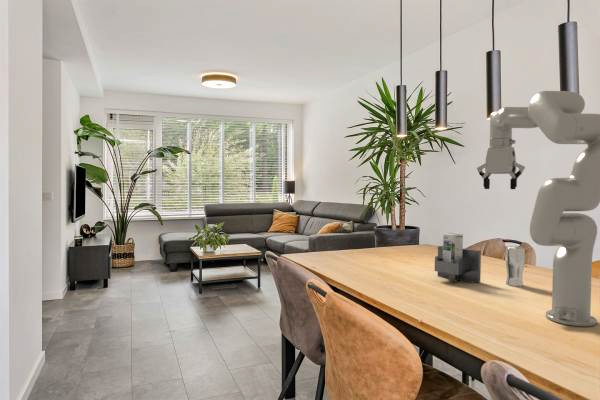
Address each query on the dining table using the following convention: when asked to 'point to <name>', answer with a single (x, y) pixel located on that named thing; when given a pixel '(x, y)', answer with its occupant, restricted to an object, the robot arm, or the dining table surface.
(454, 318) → the dining table surface
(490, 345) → the dining table surface
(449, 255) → the syrup box
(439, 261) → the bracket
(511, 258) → the beer glass
